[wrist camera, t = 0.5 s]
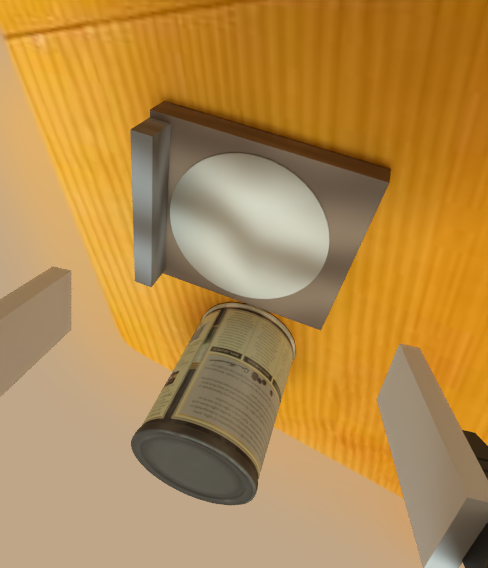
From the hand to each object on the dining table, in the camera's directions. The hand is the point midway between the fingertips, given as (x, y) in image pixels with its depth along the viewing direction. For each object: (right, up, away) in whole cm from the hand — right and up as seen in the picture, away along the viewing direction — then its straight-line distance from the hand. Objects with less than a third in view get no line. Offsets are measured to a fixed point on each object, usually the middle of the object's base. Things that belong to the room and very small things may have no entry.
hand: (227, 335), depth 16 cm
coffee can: (+1, -3, +25) cm, 25 cm away
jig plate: (+1, +7, +15) cm, 17 cm away
